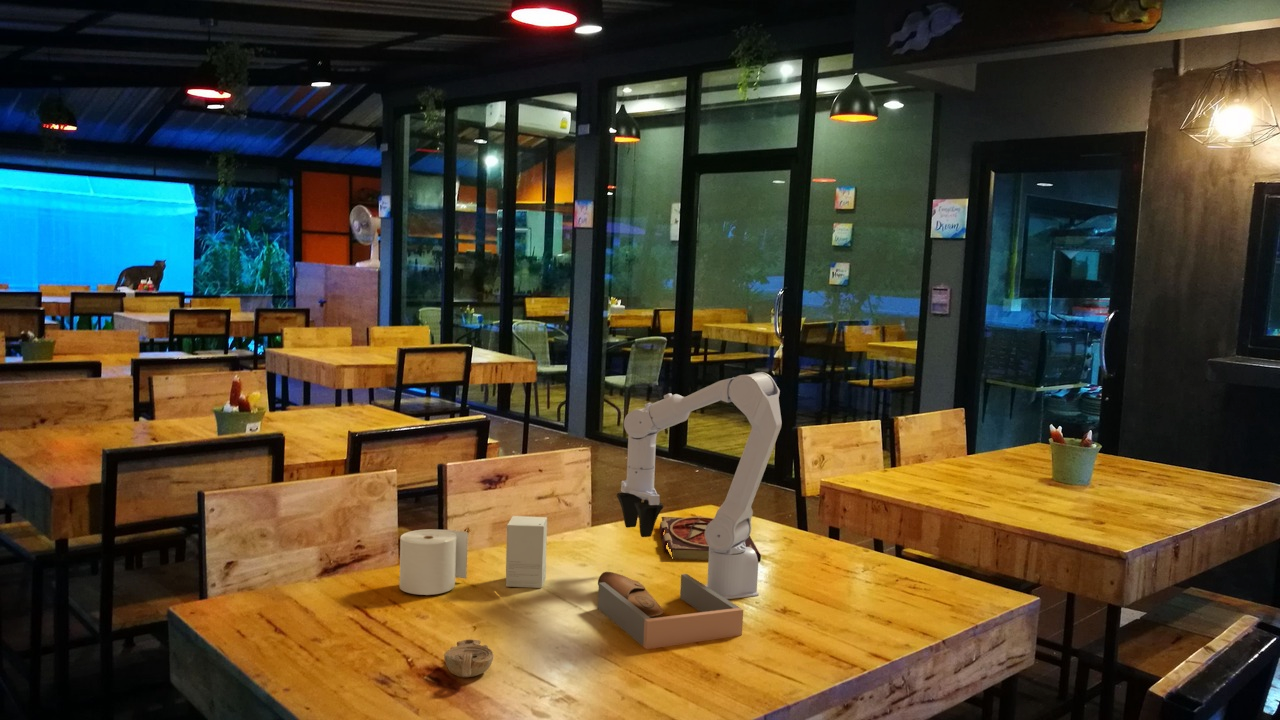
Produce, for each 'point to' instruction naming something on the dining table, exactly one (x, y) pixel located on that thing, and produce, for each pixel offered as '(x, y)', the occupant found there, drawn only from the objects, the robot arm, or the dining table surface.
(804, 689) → the dining table surface
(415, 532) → the toilet tissue
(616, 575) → the sunglasses case
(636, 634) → the open rectangular frame
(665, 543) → the book
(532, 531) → the supplement box
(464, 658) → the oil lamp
